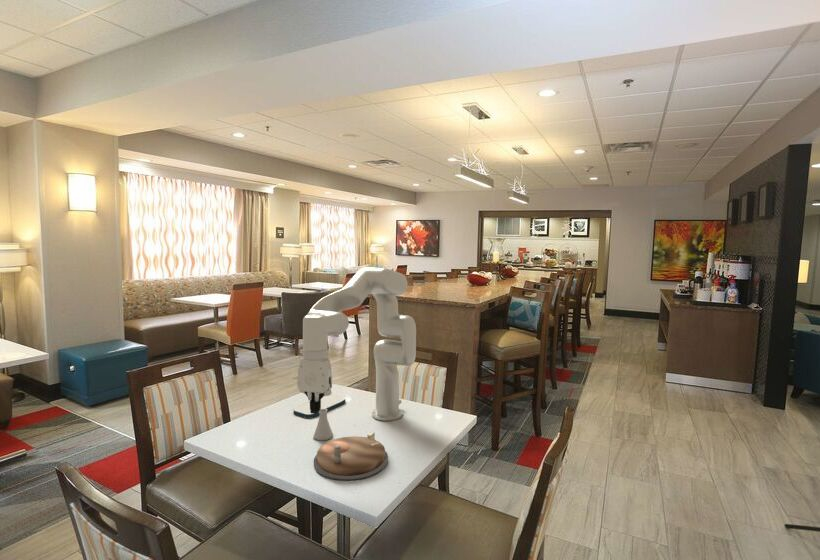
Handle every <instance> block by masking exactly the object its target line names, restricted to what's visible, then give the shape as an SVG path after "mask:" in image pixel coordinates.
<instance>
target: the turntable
mask: <svg viewBox="0 0 820 560" xmlns="http://www.w3.org/2000/svg"><path fill="white" fill-rule="evenodd" d="M385 451H386V448H385V446H384V445H383V444H382V443H381V442H379V440H376V439H375V440H374V439H371V438H367V437H365V436H359V435H358V436H356V435H354V436H343V437H338V438H334V439H331V440H329V441H327V442H325V443H324V444H322V445H321V446H320V447H319V448H318V450H317V451H316V455H317V464H318V465H319V467H320V468H322V469H323V470H325V471H327V472H329V473H333V474H338V475H357V474H362V473H366V472H369V471H372V470H374V469H376V468H377V467H379V466H380V465H381V464H382V463H383V462H384V460H385Z"/></svg>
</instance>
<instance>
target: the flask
mask: <svg viewBox="0 0 820 560" xmlns="http://www.w3.org/2000/svg"><path fill="white" fill-rule="evenodd" d="M327 412H328V411H327V409H320V411H319V417H318V421H317V425H316V428H315V431H314V434H313V439H314V440H318V441H328V440H330V439H332V438H333V435H334V433H333V431H332V428H331V426H330V422H329V420H328V413H327Z"/></svg>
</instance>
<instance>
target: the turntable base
mask: <svg viewBox="0 0 820 560" xmlns="http://www.w3.org/2000/svg"><path fill="white" fill-rule="evenodd" d="M375 435H376V433H375V431H371V432H369V433H368V434H367V438H371V439H374V440H376V439H375ZM388 464H389V454H388V451H386V450H385V460H384V462H383V463H382V464H381V465H380V466H379V467H377V468H376V469H374V470H372V471H369V472H366V473H362V474H357V475H338V474H333V473H329V472H327V471H325V470H323V469H322V468H320V467H319V465H318V464H317V454H316V455H315V456H314V458H313V469H314V471H316V473H317V474H318V475H320V476H322V477H324V478H326V479H329V480H332V481H337V482H338V481H339V482H355V481H361V480H366V479H369V478H372V477H374V476H376V475H378V474H380V473H381V472H383V471H384V470H385V469H386V468H387V466H388Z"/></svg>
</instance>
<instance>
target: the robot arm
mask: <svg viewBox="0 0 820 560" xmlns="http://www.w3.org/2000/svg"><path fill="white" fill-rule="evenodd" d="M408 285H409V284H408V279H407V277H406V276H405V275H404V274H403V273H401V272H398V271H396V270H392V269H390V268H387V267H369V266H366V267H361V268H360V269H359V270H358V271H356V273H355V274H354V275H353V276H352V277H351V278H350V279H349V281H348V282H347V283H346V284H345V285H344V287H343V288H341V289H339V290H336V291H334V292H332V293H330V294H328V295H325V296H324V297H322V298H321V299H319V300H318V301H317V302H316V303H315V304H314V305H313V306H312V307H311V308H310V310H309V311H308V312H307V314H306V315H304V317H303V319H302V349H299V354H301V355H302V357H301V358H300V359H299V363H298V368H297V369H298V370H297V377H296V378H297V380H296V381H297V383H296V385H297V386H296V387H297V389H298V390H299V391H298V392H299V393H302V394H304V395H305V396H306V397H307V401H308V402H310V413H314V414H316V413H318V412H319V411H320V409H321V399H322V398H323V397H324V396H329V395H333V394H332V393H333V392H332V387H333V374H332V373H333V372H332V366H331V360H330V358H329V357H328V356H329V355H328V350H329V349H328V345H329V344H328V343H329V341H328V338H329V336H331V337H332V336H339V335H342V334H344V333H345V332H346V331H348V328H349V326H350V324H349V323H350V322H349V318H348V316H347V315H346V314H345V313H343V312H342V311H347V310H351V309H356V308H357V307H360V306H362V304H363V303H364V302H365V300H366V299H367V297H368V296H369V295H370V293H371V294H372V295H373V298H374V299H375V301H376V316H377V317H376V319H377V320H376V321H377V322H376V323H377V324H376V326H377V332H378V334H379V335H380V336H381V337H386V338H393V339H380V340H378V341H376V343H375V344H374V347H373V357H374V363H375V365H374V366H375V409H374V410H372V412H371V416H372V417H373V418H374V419H375V420H378V421H386V422H390V421H396V420H399V419H400V418H402V416H403V410H402V409H400V407H399V406H400V405H401V404H402V399H399V398H400V371H399V370H398V367H397V366H404V367H410V366H412V365H413V364H414V363H415V360H416V357H417V355H416V354H417V326H416V322H415V319H414V318H413V317H412V316H411V315H405V314H399V303H398V298H397V297H398V296H403V295H404V294H405V293H406V291H407V290H408V287H409V286H408ZM396 296H397V297H396ZM394 339H400V340H394Z"/></svg>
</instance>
